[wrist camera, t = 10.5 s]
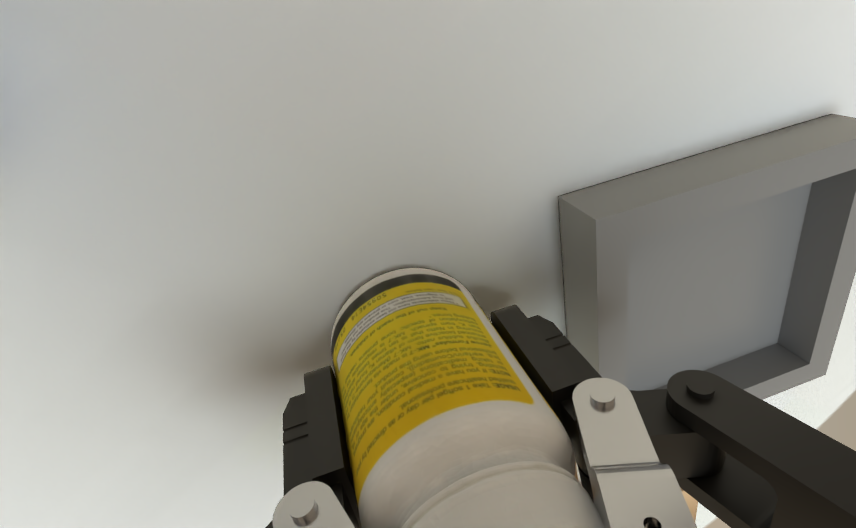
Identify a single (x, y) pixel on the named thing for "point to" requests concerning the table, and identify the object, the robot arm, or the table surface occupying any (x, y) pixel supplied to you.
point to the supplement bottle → (446, 415)
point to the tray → (717, 262)
